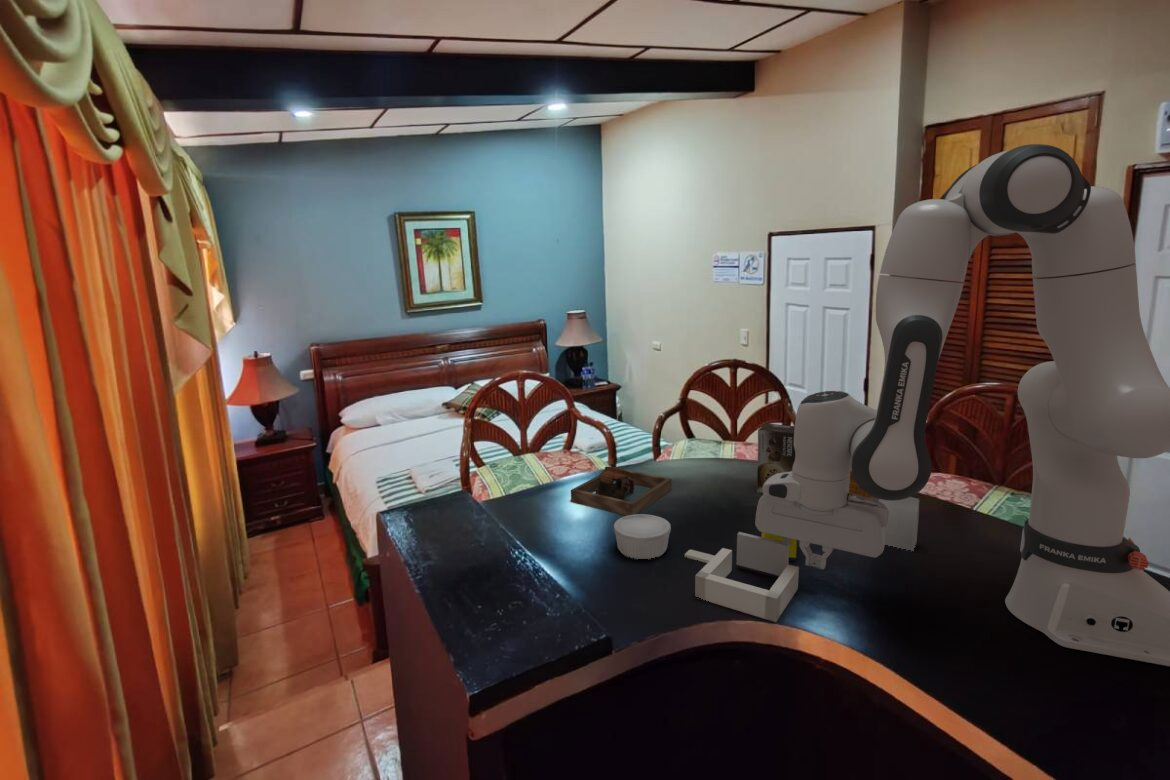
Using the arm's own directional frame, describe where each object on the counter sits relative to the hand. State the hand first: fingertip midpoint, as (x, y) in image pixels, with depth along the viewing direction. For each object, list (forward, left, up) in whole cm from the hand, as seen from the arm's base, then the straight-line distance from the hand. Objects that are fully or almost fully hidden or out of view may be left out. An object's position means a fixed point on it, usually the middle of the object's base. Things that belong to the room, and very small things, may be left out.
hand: (815, 566), depth 102 cm
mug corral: (+50, -20, -4) cm, 54 cm away
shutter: (+9, 0, -3) cm, 10 cm away
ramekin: (+32, +2, -4) cm, 33 cm away
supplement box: (+9, -10, -4) cm, 14 cm away
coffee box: (+19, -42, -4) cm, 46 cm away
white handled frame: (+13, +6, -4) cm, 15 cm away
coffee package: (0, -41, -4) cm, 41 cm away
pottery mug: (+51, -19, -4) cm, 55 cm away
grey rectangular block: (-9, -26, -4) cm, 27 cm away
